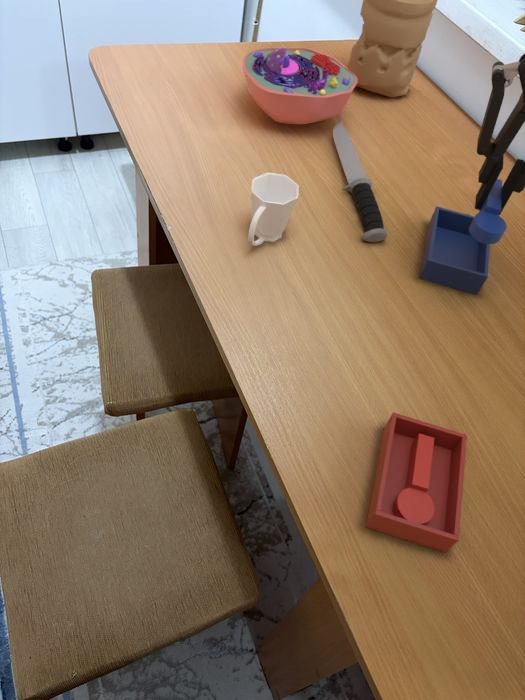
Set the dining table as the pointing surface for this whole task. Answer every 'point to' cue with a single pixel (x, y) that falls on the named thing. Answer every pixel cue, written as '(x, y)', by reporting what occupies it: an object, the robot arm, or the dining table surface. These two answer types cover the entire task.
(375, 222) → the knife
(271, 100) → the cell model
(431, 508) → the red spoon
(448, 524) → the red bin
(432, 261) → the blue bin
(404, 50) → the container
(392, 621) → the dining table surface
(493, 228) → the blue spoon
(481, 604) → the dining table surface
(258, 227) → the cup
